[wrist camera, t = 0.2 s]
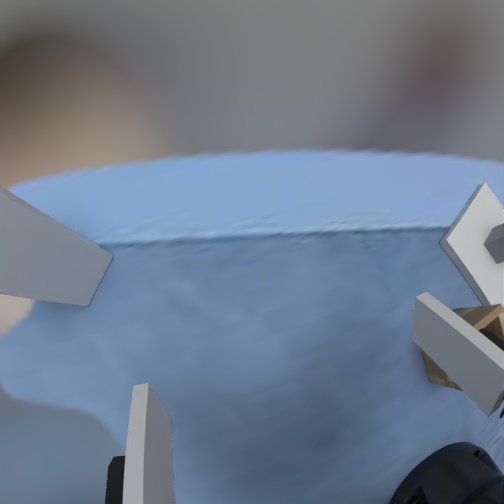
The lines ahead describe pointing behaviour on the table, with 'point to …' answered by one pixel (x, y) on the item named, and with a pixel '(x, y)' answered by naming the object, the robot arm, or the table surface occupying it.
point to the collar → (478, 318)
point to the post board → (479, 245)
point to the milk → (46, 256)
